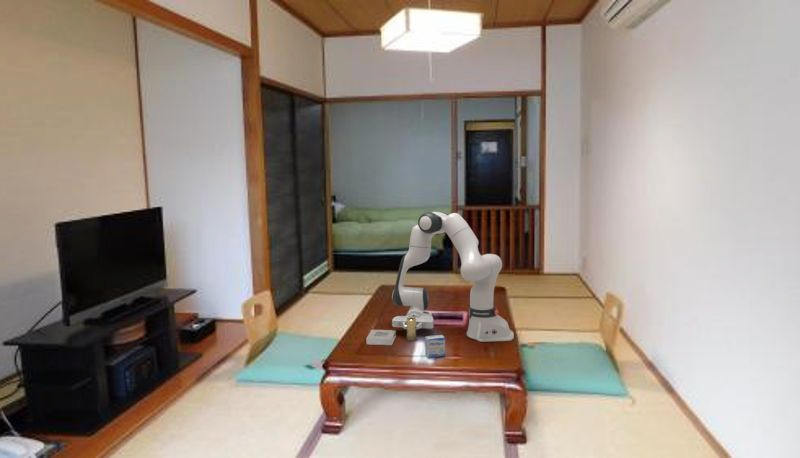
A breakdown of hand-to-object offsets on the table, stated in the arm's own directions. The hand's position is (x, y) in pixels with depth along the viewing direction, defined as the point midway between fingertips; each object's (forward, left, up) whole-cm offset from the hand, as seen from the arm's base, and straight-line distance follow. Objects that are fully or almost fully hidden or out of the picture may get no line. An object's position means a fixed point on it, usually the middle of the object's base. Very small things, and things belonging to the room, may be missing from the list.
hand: (411, 327), depth 261 cm
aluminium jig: (+14, +2, -6) cm, 15 cm away
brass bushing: (0, -1, -6) cm, 6 cm away
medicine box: (-13, +18, -6) cm, 23 cm away
